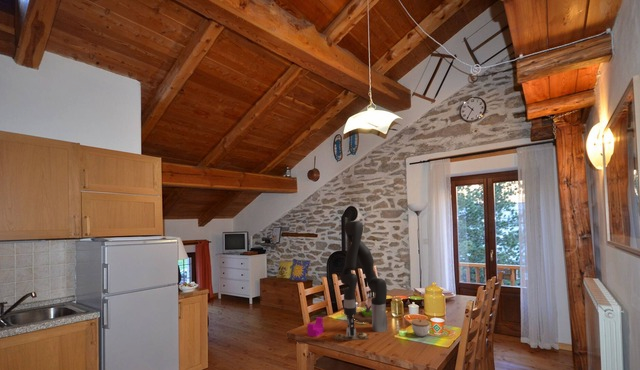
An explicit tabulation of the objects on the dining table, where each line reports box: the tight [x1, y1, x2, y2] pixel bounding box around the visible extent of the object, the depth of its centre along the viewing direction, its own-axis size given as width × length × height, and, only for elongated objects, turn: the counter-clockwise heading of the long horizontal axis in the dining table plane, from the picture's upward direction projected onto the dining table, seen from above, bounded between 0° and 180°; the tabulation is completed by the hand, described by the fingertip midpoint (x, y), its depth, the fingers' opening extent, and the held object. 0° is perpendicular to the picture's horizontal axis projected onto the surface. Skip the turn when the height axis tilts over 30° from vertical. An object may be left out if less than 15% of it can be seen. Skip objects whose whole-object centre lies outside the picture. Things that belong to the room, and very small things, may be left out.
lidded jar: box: [411, 318, 430, 337], centre depth 220 cm, size 11×11×9 cm
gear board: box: [333, 332, 370, 342], centre depth 216 cm, size 21×6×3 cm, turn 95°
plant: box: [353, 303, 372, 324], centre depth 254 cm, size 20×20×11 cm
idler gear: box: [345, 325, 357, 336], centre depth 215 cm, size 6×5×4 cm
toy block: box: [307, 316, 324, 338], centre depth 228 cm, size 15×6×8 cm, turn 155°
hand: (350, 332), depth 216 cm, fingers open, 8 cm apart
